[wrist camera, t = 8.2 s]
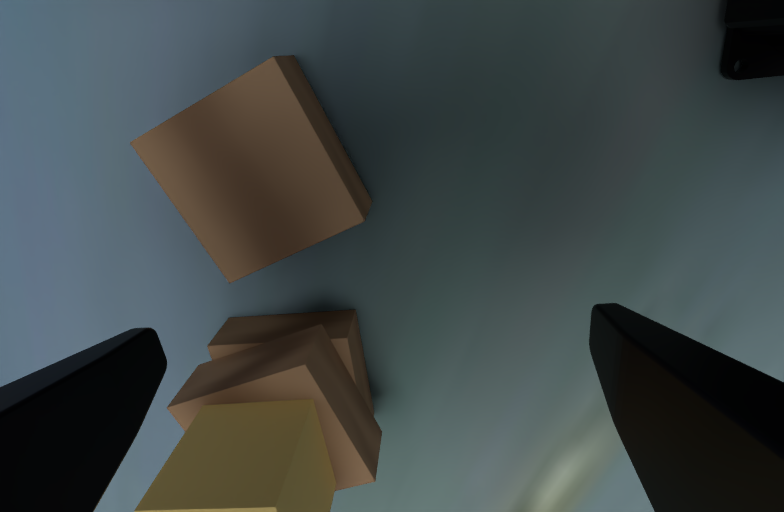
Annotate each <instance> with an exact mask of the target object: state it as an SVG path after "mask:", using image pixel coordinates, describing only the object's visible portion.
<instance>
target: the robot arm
mask: <svg viewBox="0 0 784 512" xmlns="http://www.w3.org/2000/svg"><path fill="white" fill-rule="evenodd" d="M725 23H726V25H727V26H728V28H727V33H726V39H725V45H724V51H723V57H722V63H721V73H722V75H723V77H725V78H727V79H733V80H744V79H753V78H763V77H772V76H782V75H784V0H728V3H727V9H726V15H725ZM738 60H741V61H742V66H741V68H740V69H739V70H738V71H737V72H735V71H734V65H735V63H736V62H737V61H738ZM589 346H590V352H591V355H592V359H593V362H594V365H595V368H596V371H597V374H598V377H599V380H600V383H601V386H602V389H603V392H604V396H605V399H606V402H607V405H608V408H609V411H610V414H611V417H612V419H613V422H614V425H615V427H616V429H617V432H618V434H619V436H620V438H621V440H622V442H623V445H624V447H625V449H626V451H627V453H628V455H629V457H630V460H631V462H632V464H633V466H634V468H635V470H636V473H637V475H638V477H639V479H640V481H641V483H642V485H643V488H644V490H645V492H646V494H647V496H648V498H649V500H650V503H651V505H652V507H653V509H654V511H655V512H784V382H782V381H780V380H778V379H775V378H773V377H771V376H769V375H767V374H765V373H763V372H761V371H759V370H756V369H754V368H752V367H750V366H748V365H746V364H744V363H742V362H740V361H737V360H735V359H733V358H731V357H729V356H727V355H725V354H723V353H721V352H718V351H716V350H714V349H712V348H710V347H708V346H706V345H704V344H702V343H699V342H697V341H695V340H693V339H691V338H689V337H687V336H685V335H683V334H680V333H678V332H676V331H674V330H672V329H670V328H668V327H666V326H664V325H661V324H659V323H657V322H655V321H653V320H651V319H649V318H647V317H645V316H642V315H640V314H638V313H636V312H634V311H632V310H630V309H628V308H626V307H624V306H621V305H619V304H617V303H606V304H596V305H594V306H593V308H592V312H591V324H590V337H589ZM166 368H167V359H166V356H165V353H164V351H163V348H162V345H161V343H160V340H159V338H158V335H157V333H156V331H155V330H154V329H152V328H134V329H130V330H128V331H126V332H123V333H121V334H119V335H117V336H114V337H112V338H110V339H108V340H105V341H103V342H101V343H99V344H96V345H94V346H92V347H90V348H87V349H85V350H83V351H81V352H78V353H76V354H74V355H72V356H69V357H67V358H65V359H63V360H60V361H58V362H56V363H54V364H51V365H49V366H47V367H45V368H43V369H40V370H38V371H36V372H34V373H31V374H29V375H27V376H25V377H22V378H20V379H18V380H16V381H13V382H11V383H9V384H7V385H4V386H2V387H0V512H94V510H95V508H96V506H97V505H98V503H99V501H100V499H101V498H102V496H103V494H104V492H105V490H106V489H107V487H108V485H109V483H110V482H111V480H112V478H113V476H114V475H115V473H116V471H117V469H118V468H119V466H120V464H121V462H122V461H123V459H124V457H125V455H126V453H127V452H128V450H129V448H130V446H131V445H132V443H133V441H134V439H135V437H136V435H137V433H138V431H139V429H140V427H141V425H142V423H143V421H144V419H145V416H146V414H147V412H148V410H149V407H150V405H151V403H152V401H153V398H154V396H155V394H156V392H157V389H158V387H159V385H160V383H161V381H162V378H163V376H164V374H165V371H166Z"/></svg>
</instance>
